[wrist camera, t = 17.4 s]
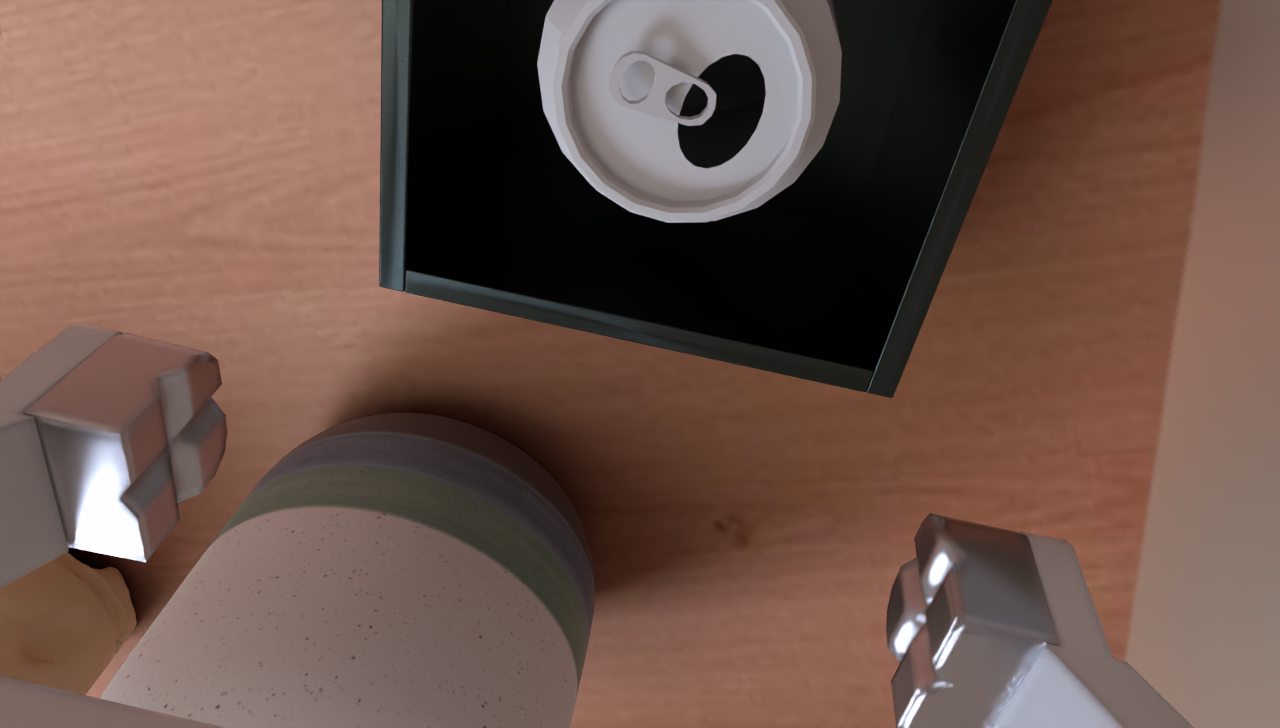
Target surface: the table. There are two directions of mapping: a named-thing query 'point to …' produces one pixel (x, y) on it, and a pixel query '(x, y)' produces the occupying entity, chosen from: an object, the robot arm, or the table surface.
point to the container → (63, 624)
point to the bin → (697, 251)
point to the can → (690, 98)
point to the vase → (380, 591)
